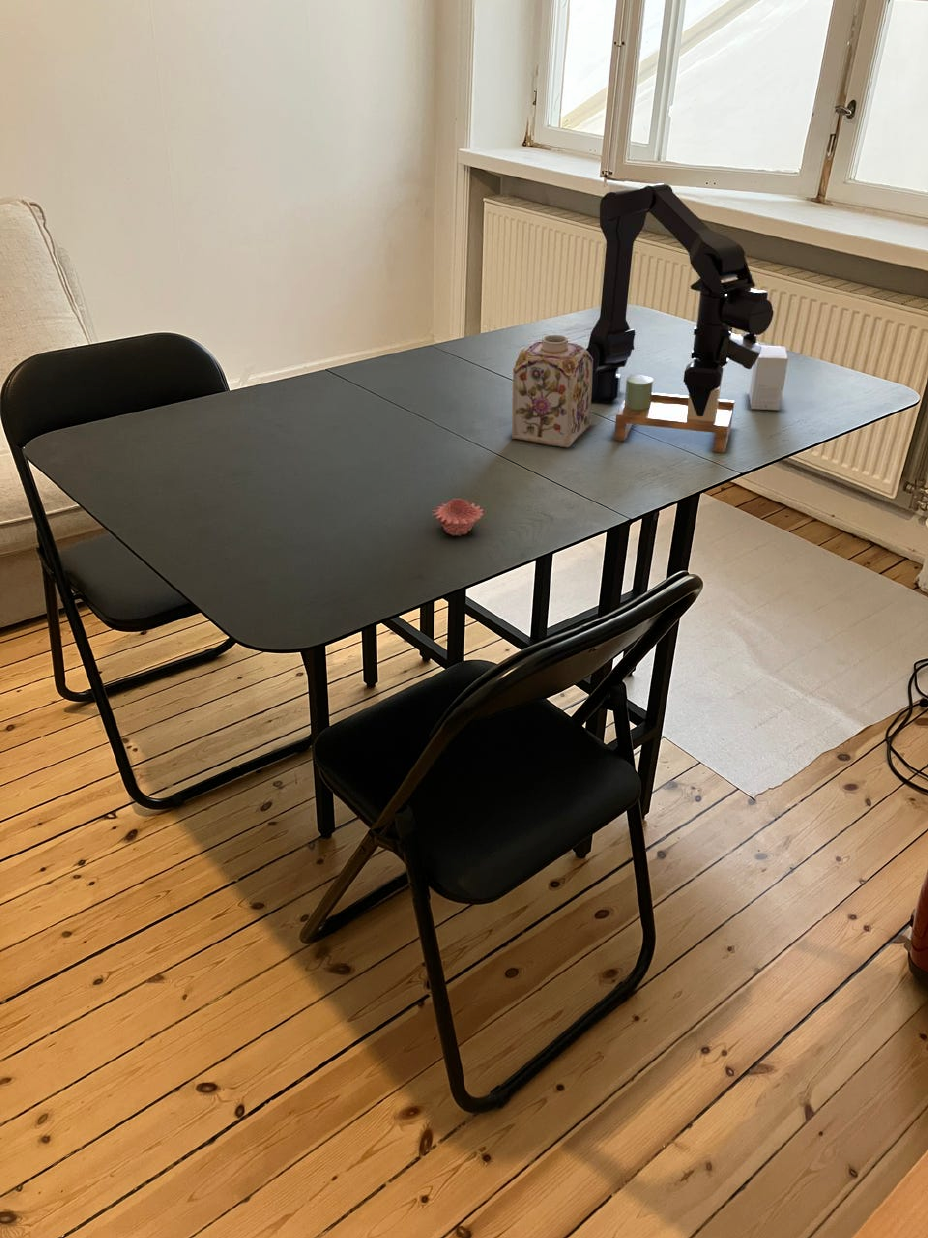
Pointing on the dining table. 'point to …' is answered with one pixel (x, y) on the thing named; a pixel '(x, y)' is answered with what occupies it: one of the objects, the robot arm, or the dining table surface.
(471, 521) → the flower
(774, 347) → the small box
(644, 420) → the shelf
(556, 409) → the decorative jar
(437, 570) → the dining table surface
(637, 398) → the ceramic canister
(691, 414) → the cream block
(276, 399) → the dining table surface
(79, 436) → the dining table surface
